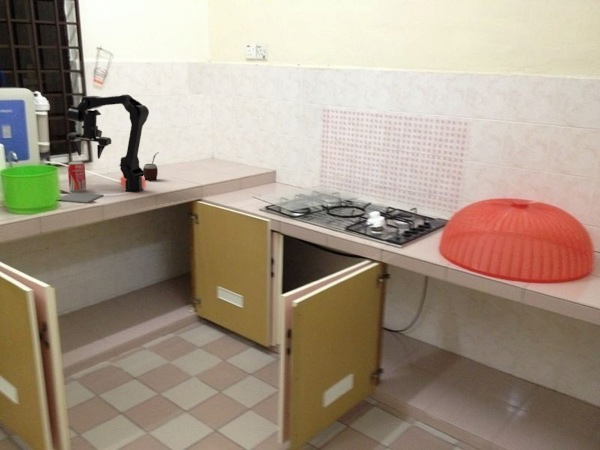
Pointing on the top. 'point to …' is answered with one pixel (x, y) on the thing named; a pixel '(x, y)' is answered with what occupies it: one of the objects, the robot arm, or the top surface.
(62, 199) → the charcoal mat
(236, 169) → the top surface
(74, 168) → the soda can
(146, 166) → the mate gourd
